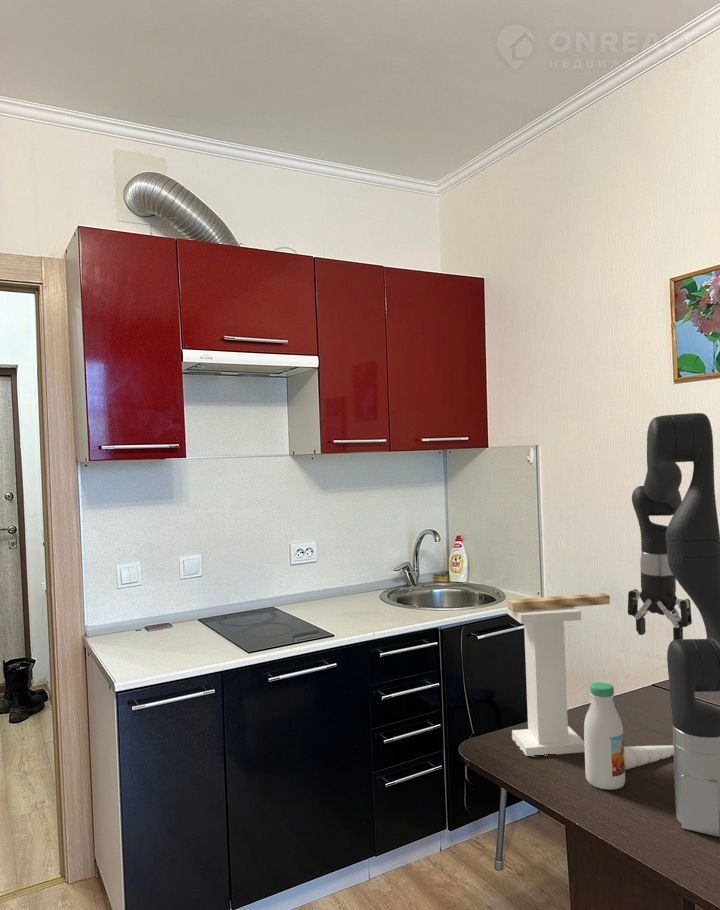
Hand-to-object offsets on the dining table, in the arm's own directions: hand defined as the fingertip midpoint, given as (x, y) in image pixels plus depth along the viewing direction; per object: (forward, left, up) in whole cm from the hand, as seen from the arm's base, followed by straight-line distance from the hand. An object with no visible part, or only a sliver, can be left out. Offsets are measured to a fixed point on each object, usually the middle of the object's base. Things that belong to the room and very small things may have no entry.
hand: (659, 638), depth 161 cm
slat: (-13, +20, +8) cm, 25 cm away
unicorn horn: (-12, +1, -24) cm, 27 cm away
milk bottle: (-28, +7, -24) cm, 37 cm away
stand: (-16, +22, -24) cm, 36 cm away
